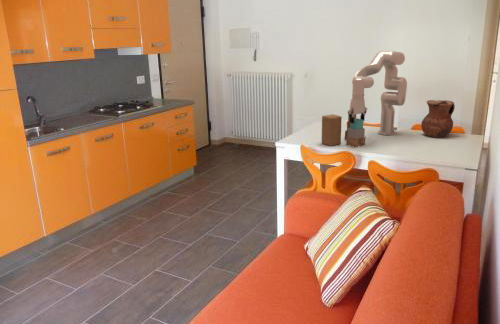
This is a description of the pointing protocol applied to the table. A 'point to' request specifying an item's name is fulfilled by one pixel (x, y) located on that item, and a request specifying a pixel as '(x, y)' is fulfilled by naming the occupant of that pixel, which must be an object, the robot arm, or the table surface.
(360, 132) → the tower mid
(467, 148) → the table surface
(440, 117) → the jug
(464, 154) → the table surface
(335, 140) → the wooden block
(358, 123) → the teal cube
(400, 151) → the table surface
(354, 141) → the tower base
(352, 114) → the wooden toy
